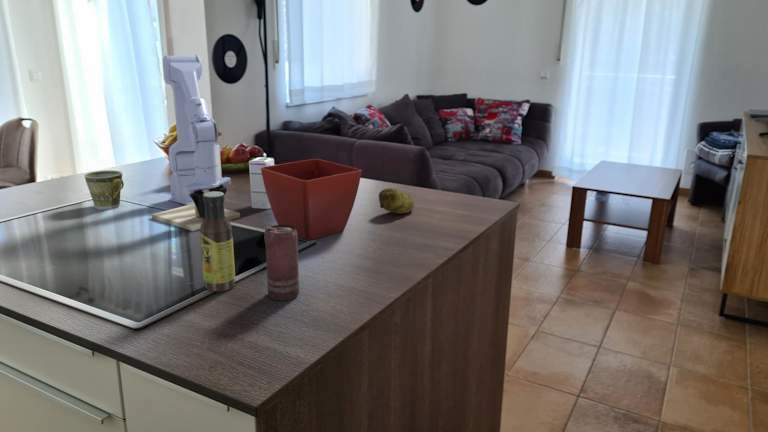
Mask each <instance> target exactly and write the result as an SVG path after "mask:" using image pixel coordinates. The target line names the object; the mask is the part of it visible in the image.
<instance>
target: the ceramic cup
mask: <svg viewBox="0 0 768 432" xmlns="http://www.w3.org/2000/svg"><path fill="white" fill-rule="evenodd" d="M84 179H85V182H86V186H87V189H88V190H89V194H90V196H91V199H92V203H93V205H94V208H95V209H96V210H100V211H106V210H114V209H118V208H119V206H120V204H121V191H122V189H123V188H124V185H125V184H124V181H123V172H122V171H119V170H113V169H109V170H97V171H92V172H87V173H86V174H84Z"/></svg>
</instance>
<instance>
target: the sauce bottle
mask: <svg viewBox="0 0 768 432" xmlns="http://www.w3.org/2000/svg"><path fill="white" fill-rule="evenodd" d="M225 200H226V197H225V195H224V193H223V192H217V191H213V192H209V191H208V192H205V194H203V202H204V205H205V219H204V221H203V222H202V224H201V227H200V229H199V239H200V253H201V265H202V279H203V281H204V283H203V285H204V288H205V289H206V290H208V291H211V292H217V293H219V292H226V291H229V290H231V289H234V286H235V282H236V280H235V279H236V278H235V277H236V271H235V270H236V269H235V255H234V253H235V252H234V239H233V233H232V232H233V231H232V230H233V229H232V224H231V222H230V220H229V221H228V219H227V218H226V217H225V211H224V209H225Z"/></svg>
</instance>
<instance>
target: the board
mask: <svg viewBox="0 0 768 432" xmlns="http://www.w3.org/2000/svg"><path fill="white" fill-rule="evenodd" d="M224 211H225V217H226V218H227V219H228V221H229V222H230V221H231V220H235V219H238V218H240V217H241V213H240V212H237V211H233V210H230V209H226V208H224ZM151 219H153V220H156V221H159V222H162V223H165V224H168V225H172V226H175V227H178V228H182V229H185V230H188V231H191V232H194V231H198V230H200V227H201V224H202V222H203V221H204V219H201V218H198V217H196V215H195V203H194V204H190V205H184V206H180V207H179V206H178V207H176V208H170V209H168V210H163V211H159V212H156V213H151Z"/></svg>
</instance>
